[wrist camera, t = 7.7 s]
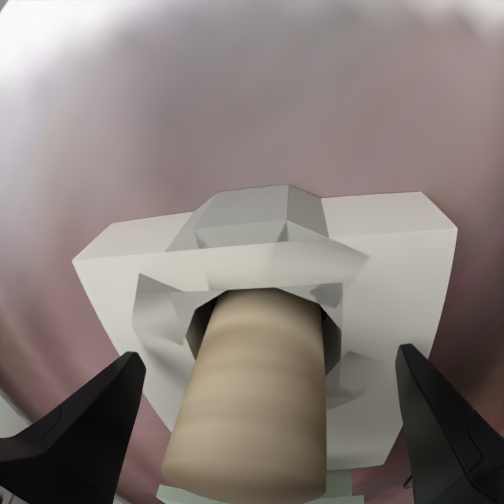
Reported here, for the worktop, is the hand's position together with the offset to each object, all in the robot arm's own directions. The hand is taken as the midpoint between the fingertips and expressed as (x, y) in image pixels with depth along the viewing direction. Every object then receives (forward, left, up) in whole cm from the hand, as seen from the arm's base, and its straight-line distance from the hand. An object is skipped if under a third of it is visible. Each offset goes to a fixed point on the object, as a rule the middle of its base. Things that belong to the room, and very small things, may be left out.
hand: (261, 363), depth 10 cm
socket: (-4, 0, -4) cm, 5 cm away
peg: (0, 0, -4) cm, 4 cm away
